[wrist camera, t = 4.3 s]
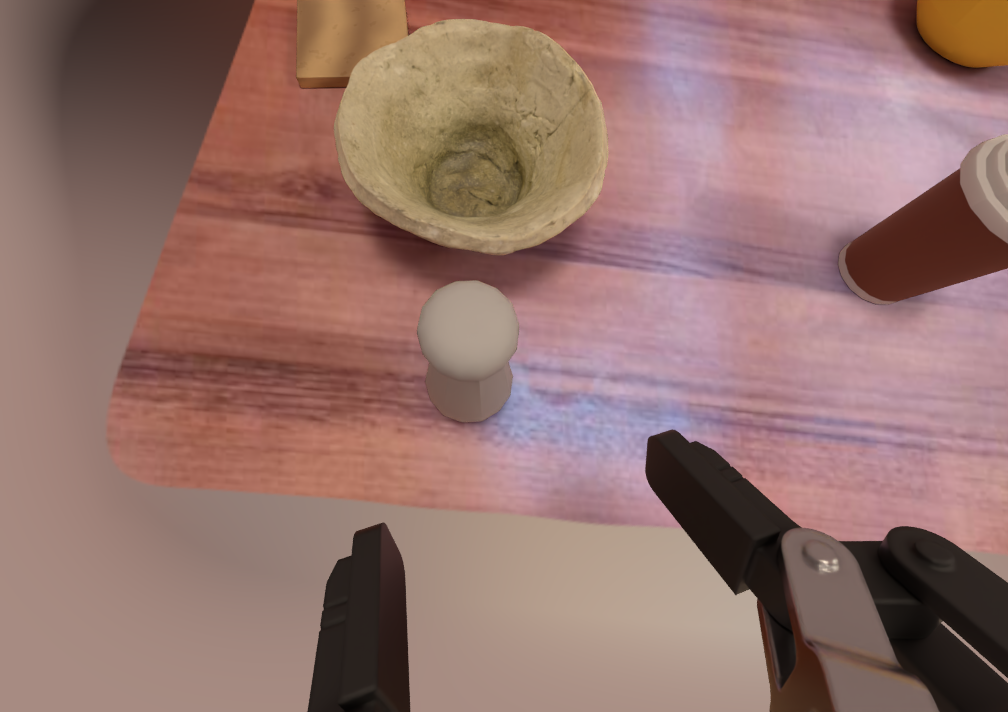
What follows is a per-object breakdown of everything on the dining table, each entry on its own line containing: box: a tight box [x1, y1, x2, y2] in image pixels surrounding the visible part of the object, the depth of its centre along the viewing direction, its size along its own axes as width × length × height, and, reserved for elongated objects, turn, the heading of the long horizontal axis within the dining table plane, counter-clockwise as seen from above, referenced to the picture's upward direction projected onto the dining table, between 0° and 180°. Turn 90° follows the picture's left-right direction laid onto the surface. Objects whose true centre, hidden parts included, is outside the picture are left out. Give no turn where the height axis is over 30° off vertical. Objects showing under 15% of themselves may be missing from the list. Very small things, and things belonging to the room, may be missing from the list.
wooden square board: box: [296, 0, 409, 88], centre depth 34 cm, size 10×10×1 cm
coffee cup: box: [838, 134, 1008, 305], centre depth 27 cm, size 9×9×12 cm
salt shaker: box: [417, 280, 519, 422], centre depth 21 cm, size 6×6×13 cm
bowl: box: [334, 19, 608, 255], centre depth 25 cm, size 14×18×15 cm
